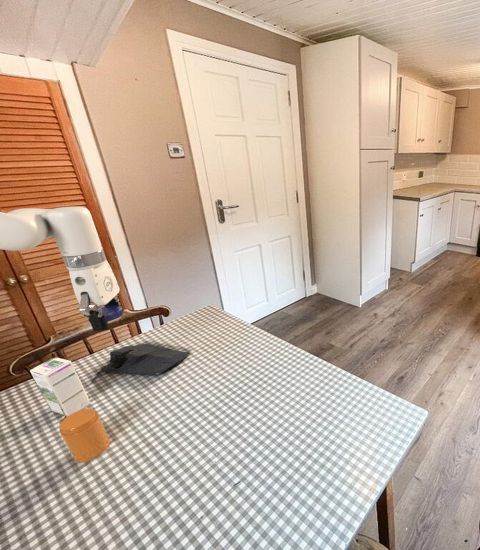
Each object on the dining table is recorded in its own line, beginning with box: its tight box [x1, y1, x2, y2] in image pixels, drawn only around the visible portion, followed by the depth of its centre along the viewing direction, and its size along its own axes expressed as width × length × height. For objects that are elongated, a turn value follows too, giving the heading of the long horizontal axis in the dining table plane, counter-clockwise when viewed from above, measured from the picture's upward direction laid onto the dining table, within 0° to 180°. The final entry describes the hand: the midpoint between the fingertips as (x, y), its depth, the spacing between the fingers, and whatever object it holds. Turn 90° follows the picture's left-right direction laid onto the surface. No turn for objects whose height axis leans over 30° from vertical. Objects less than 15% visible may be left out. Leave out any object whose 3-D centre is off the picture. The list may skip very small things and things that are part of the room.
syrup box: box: [29, 356, 91, 419], centre depth 78 cm, size 6×6×14 cm
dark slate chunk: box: [101, 343, 190, 376], centre depth 98 cm, size 15×22×5 cm
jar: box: [58, 408, 111, 463], centre depth 68 cm, size 6×6×9 cm
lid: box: [87, 305, 124, 323], centre depth 79 cm, size 7×7×2 cm
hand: (108, 322), depth 80 cm, fingers closed on lid, 7 cm apart
